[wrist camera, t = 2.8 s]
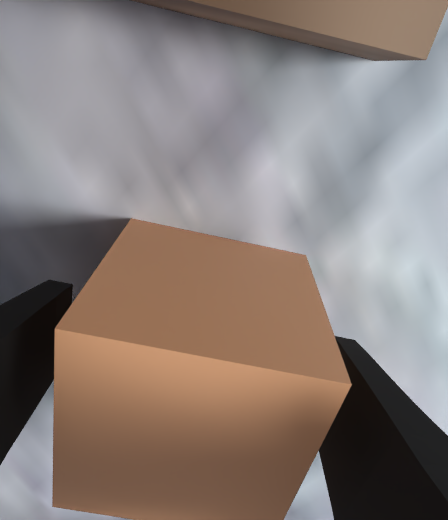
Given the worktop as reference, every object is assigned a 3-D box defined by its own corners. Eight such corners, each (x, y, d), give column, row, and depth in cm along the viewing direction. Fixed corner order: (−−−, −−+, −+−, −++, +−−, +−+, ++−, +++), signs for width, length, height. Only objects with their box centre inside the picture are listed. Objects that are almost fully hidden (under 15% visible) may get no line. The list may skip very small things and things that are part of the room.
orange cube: (116, 353, 13) (52, 507, 8) (131, 217, 11) (54, 328, 6) (260, 380, 13) (272, 541, 9) (305, 254, 11) (351, 385, 6)
